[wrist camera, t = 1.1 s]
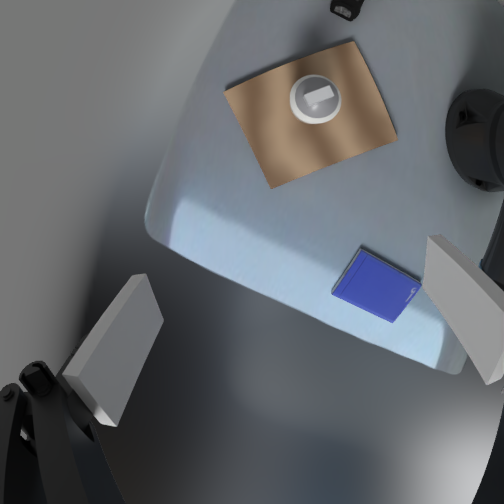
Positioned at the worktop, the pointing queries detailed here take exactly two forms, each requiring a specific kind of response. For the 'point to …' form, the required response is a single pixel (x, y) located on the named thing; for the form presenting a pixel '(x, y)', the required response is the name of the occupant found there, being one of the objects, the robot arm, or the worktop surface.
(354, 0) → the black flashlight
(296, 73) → the board
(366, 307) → the hard drive
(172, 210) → the worktop surface
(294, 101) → the white bottle
